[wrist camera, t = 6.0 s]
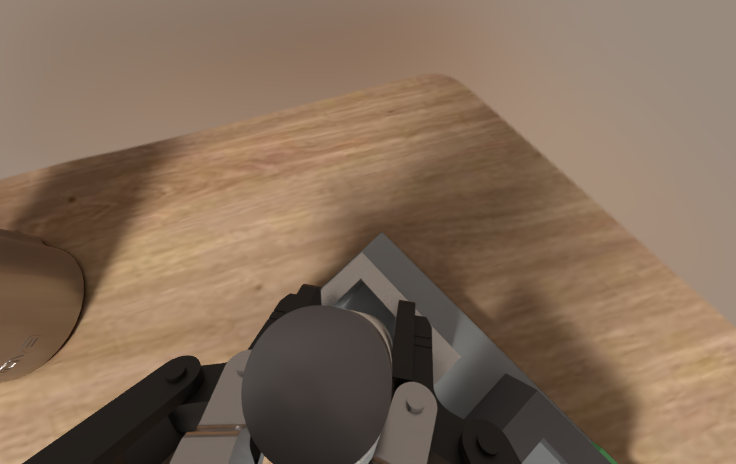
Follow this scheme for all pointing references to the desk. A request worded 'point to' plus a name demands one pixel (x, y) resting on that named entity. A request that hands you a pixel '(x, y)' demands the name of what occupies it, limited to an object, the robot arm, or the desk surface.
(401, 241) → the desk surface
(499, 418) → the port
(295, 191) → the desk surface
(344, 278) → the square frame
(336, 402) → the plug
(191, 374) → the robot arm
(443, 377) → the panel
